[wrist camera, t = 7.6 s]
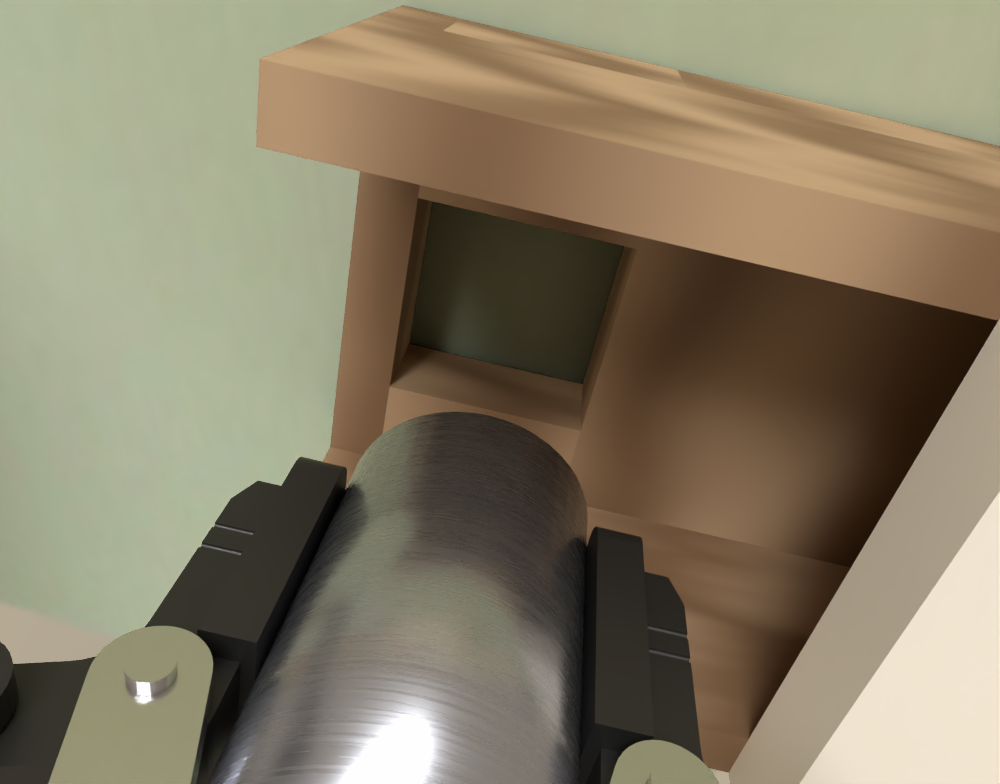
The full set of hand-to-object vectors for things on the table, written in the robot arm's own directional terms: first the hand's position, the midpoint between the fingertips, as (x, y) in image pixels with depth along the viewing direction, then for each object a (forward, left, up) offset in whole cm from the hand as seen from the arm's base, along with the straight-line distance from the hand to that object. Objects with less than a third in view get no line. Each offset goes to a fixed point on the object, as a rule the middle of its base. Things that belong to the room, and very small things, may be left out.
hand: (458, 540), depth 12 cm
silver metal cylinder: (0, 0, -1) cm, 1 cm away
